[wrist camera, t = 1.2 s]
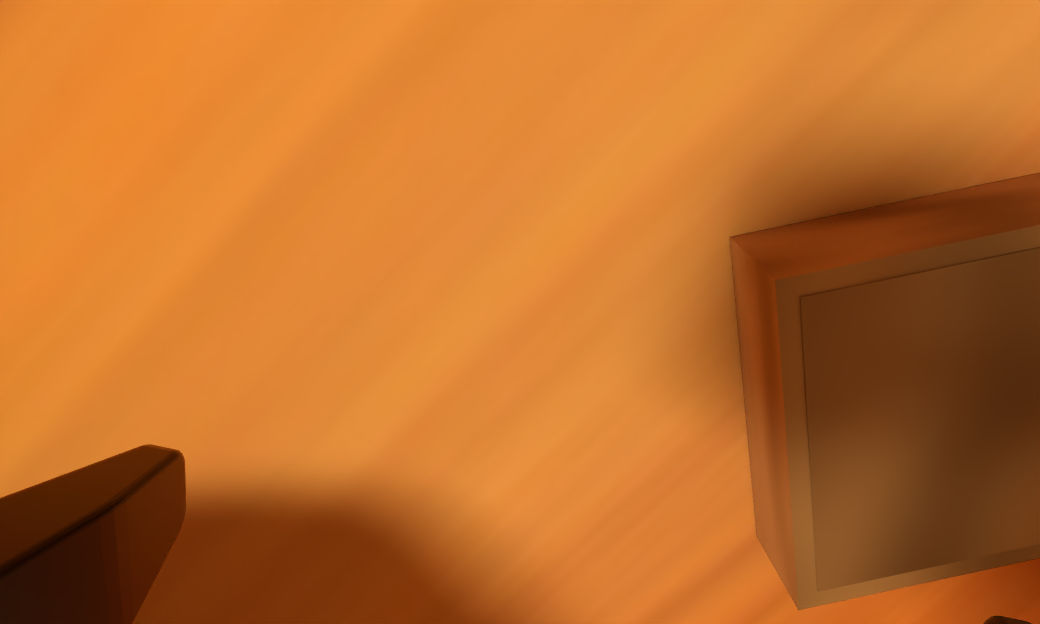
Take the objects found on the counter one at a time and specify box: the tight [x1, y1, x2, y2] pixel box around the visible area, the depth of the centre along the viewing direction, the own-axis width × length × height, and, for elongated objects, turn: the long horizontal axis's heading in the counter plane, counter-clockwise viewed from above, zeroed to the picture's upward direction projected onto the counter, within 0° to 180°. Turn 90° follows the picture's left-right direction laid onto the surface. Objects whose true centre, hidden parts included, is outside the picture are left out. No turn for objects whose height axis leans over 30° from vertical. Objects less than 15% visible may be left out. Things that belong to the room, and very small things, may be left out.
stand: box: [730, 173, 1040, 610], centre depth 21 cm, size 9×9×3 cm
